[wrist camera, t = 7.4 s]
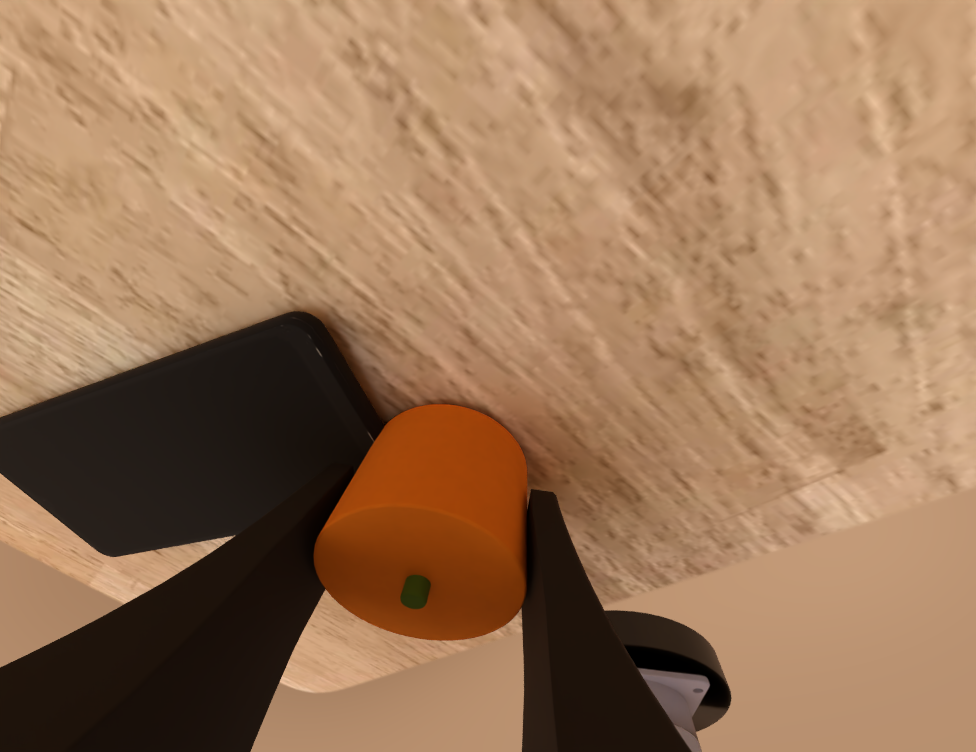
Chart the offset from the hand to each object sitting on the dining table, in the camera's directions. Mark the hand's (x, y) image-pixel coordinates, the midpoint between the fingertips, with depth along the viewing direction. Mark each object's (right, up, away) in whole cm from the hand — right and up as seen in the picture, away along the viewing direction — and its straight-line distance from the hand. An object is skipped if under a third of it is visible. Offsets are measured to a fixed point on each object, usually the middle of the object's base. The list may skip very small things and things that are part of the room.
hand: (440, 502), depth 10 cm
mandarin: (0, +1, +1) cm, 1 cm away
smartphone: (-9, +1, +2) cm, 9 cm away
